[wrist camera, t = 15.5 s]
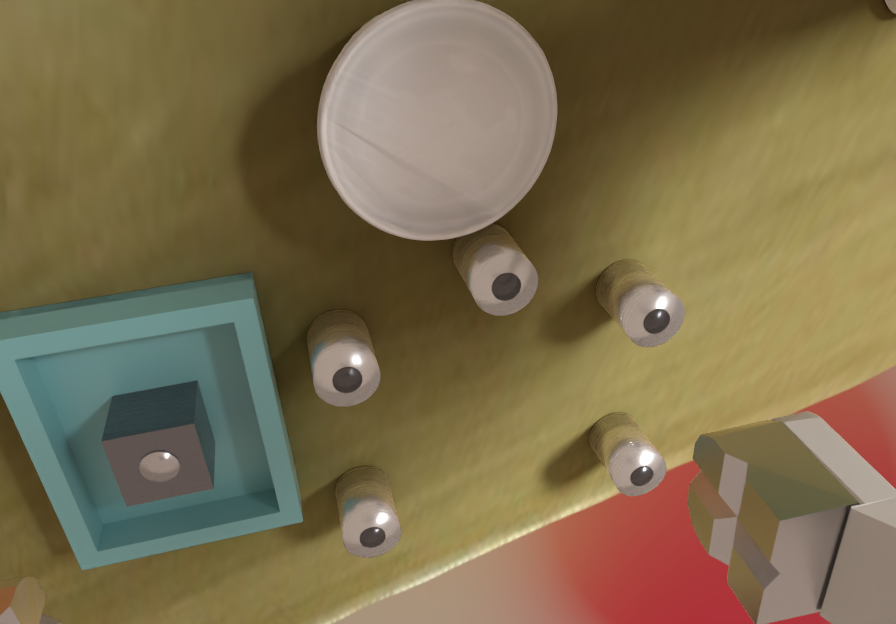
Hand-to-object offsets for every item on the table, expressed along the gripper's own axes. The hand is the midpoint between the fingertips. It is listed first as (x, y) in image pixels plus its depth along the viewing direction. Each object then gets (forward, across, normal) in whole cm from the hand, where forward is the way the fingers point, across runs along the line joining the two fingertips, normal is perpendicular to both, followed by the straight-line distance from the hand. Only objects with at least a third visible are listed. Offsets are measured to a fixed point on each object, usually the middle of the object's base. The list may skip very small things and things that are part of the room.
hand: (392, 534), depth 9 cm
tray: (+31, +11, +19) cm, 38 cm away
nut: (+30, +11, +19) cm, 37 cm away
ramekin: (+32, -6, +4) cm, 32 cm away
